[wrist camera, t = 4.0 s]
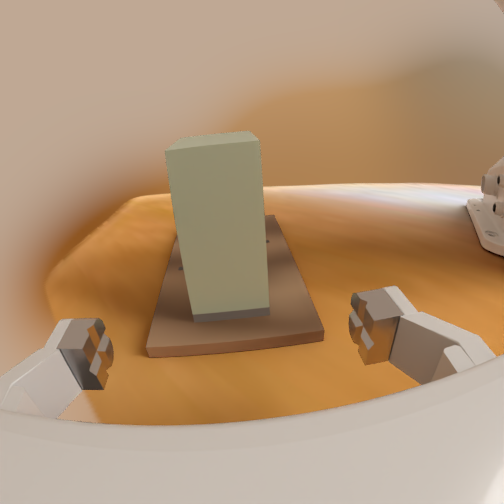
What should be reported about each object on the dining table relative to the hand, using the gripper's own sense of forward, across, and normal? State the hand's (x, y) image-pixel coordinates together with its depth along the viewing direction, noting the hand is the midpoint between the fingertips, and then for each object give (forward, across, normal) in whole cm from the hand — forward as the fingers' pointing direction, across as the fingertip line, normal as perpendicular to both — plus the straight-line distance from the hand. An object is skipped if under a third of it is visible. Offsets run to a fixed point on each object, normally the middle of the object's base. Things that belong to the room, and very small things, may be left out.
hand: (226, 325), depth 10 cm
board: (+15, 0, +6) cm, 16 cm away
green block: (+10, 0, +6) cm, 12 cm away
